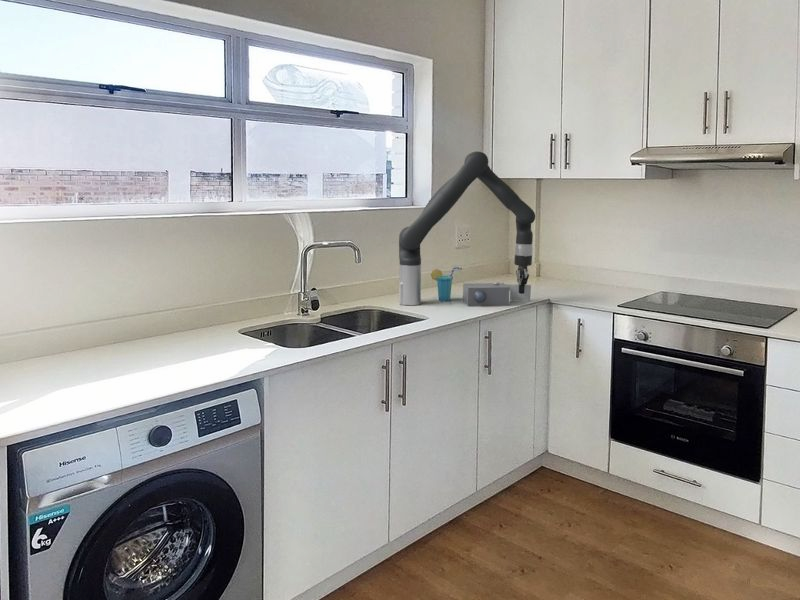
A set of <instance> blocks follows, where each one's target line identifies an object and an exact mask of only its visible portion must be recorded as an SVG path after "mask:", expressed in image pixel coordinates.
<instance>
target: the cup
mask: <svg viewBox="0 0 800 600" xmlns="http://www.w3.org/2000/svg"><path fill="white" fill-rule="evenodd" d="M455 270H462V267H459V266H454V267H452V270H451V272H450V275H443V273H442V271H441V270H440V269H437V268H436V269H435V268H434V269H433V270H432V271H431V273H430V277H431V278H432V280H435V281H436V282H437V284H436V285H437V295H438V296H437V297H438V302H450V301H451V294H452V284H453V280H454V276H453V275H454V271H455Z"/></svg>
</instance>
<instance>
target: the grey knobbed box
mask: <svg viewBox="0 0 800 600" xmlns="http://www.w3.org/2000/svg"><path fill="white" fill-rule="evenodd" d="M506 284H507V283H504V282H498V281H494V282H483V283H482V282H480V283H479V282H475V283H473V282H472V283H471V282H469V283H468V282H467V283H462V302H463V303H464V304H465V305H466V306H467V307H493V306H494V307H503V306H504V307H505V306H507V307H508V306H510V303H511V300H510V287H509V286H507V285H506Z"/></svg>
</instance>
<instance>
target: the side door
mask: <svg viewBox="0 0 800 600" xmlns="http://www.w3.org/2000/svg"><path fill="white" fill-rule="evenodd" d="M505 284H506V285H507V286H509V287H510V301H529V302H530V301H531V293H532V284H525V289H524V294H520V293H519V284H518V283H517V284H516V283H515V284H514V283H511V284H509V283H505Z"/></svg>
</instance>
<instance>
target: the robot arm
mask: <svg viewBox="0 0 800 600" xmlns="http://www.w3.org/2000/svg"><path fill="white" fill-rule="evenodd" d="M476 179H478V180H479V181H481V183H483V185H485V186H486V187H487V188H488V189H489V190H490V191H491V192H492V194H493V195H494V196H495V197H496V198H497V200H498V201H500V203H502V205H503V206H504V207H505V208H506V209H508V210H509V211H511V212H512V214H514V216H515V228H516V237H515V247H514V259H513V260H514V261H513V264H514V265H515V266H518V267H517V270H516V271H515V274H516V282H517V284H518V285H519V293H520V294H524V289H525V285H528V279H529V277H530V274H529V269H528V267H529V266H532V263H533V237H534V235H533V231H532V224H533V223H534V222H535V220H536V213H535V211H534V210H533V208H531V207H530V205H528V204H527V203H526V202H525V201H523V200H522V198H520V196H519V195H518V193H516V192H515V190H513V189H512V188H511V186H509V184H507V183H506V182H505V181H503V179H501V178H500V177H499V176H498V175H497V174H496V173H495V172H494V171H493V170H492V169H491V168H490V166H489V157H488V156H487V154H485V152H483V151H473V152H470V153H469V154H467V155H466V157H465V158H464V162H463V165H462V166H461V167H460V169H459V170H458V171H457V172H456V174H455V175H453V177H451V178H450V179H448V180H447V181H446V182H445V183H443V185H442V186H441V187H440V188H439V189H438V190H436V192H435V193H434V194H433V196H431V198H430V199H429V200H428V202H427V204H426V205H425V207H424V209H423V210H422V212H421V214H420V215H419V216H418V217H417V218H416V220H414V222H412V223H411V224H410V225H409V226H406V227H404V228H403V229H401V230H400V233H399V234H398V257H399V258H398V259H399V282H398V303H399V305H402V306H418V305H421V304H422V296H421V295H422V292H421V291H422V288H421V287H422V285H421V284H422V258H421V257H422V256H421V244H422V242H423V241H424V240H425V238H426V236H427V235H428V234H429V232H431V230H432V229H433V227H434V226H436V225H437V224H438V223H439V222H440V221H441V220H442V219H443V218H444V217H445V216H446V215H447V214H448V212H449V211H450V210H451V209H452V208H453V206H455V205H456V204H457V202H458V201H459V200H460V198H461V197H462V196H463V195H464V193H465V192H466V190H467V189H468V187H469V186H470V185H471V184H472V183H474V181H476Z"/></svg>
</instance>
